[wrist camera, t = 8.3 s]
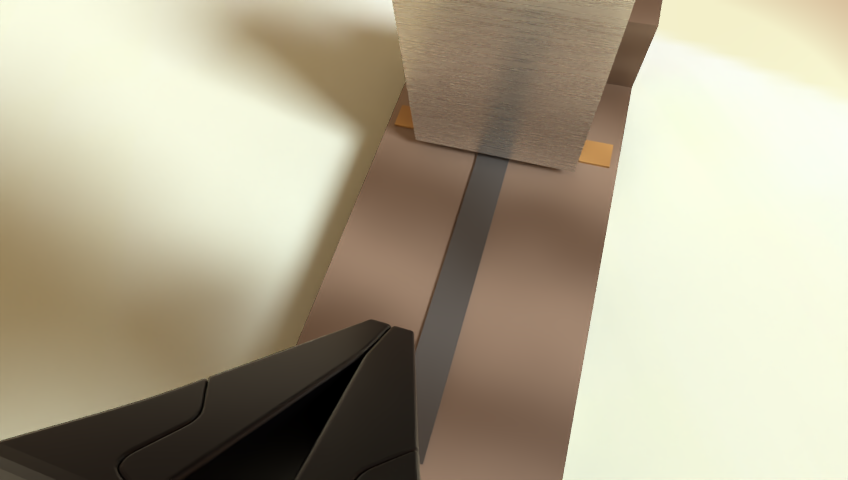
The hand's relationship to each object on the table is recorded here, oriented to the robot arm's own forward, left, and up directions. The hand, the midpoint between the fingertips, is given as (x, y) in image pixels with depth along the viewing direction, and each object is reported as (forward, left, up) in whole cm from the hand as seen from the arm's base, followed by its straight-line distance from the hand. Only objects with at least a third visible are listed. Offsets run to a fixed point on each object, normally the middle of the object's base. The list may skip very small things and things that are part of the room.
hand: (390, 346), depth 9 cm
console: (+2, +6, -9) cm, 11 cm away
